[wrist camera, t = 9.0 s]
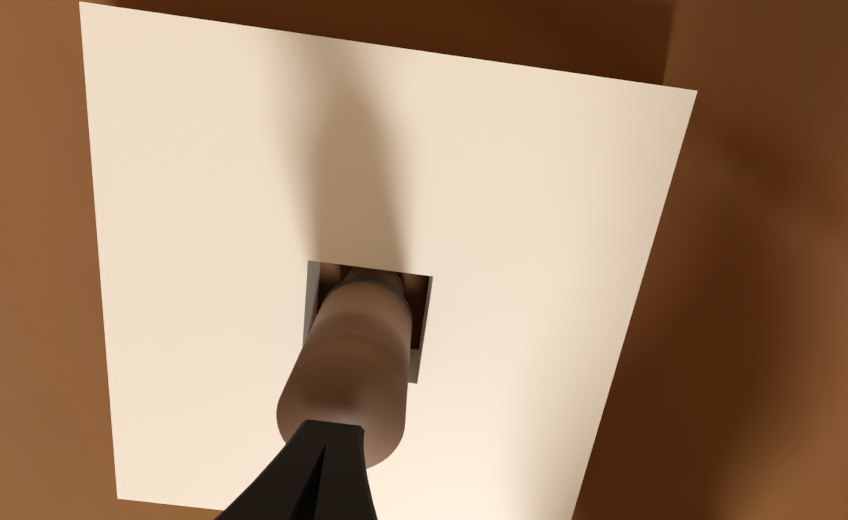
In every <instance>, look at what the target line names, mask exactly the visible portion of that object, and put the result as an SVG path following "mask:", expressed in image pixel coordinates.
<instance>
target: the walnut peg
mask: <svg viewBox="0 0 848 520" xmlns="http://www.w3.org/2000/svg"><path fill="white" fill-rule="evenodd" d="M412 324H413V320H412V313H411V309H410V307H409V304H408V302H407V301H406V299H405V288H404V284H403V281H402V280H401V278H400V276H399V275H398V274H397V273H396V272H395V271H388V270H380V269H372V268H364V267H357V266H356V267H354V268H353V269H351V270H350V271H349V272H348V273H347V274H346V276H345V277H344V279H343V282H342V283H340V284H339V285H337V286H335V287H334V288H333V289H332V290H331V291H330V292H329V293H328V294H327V295H326V297H325V298H324V300H323V302H322V304H321V306H320V309H319V312H318V315H317V317H316V319H315V321H314V323H313V326H312V328H311V330H310V332H309V334H308V337H307V339H306V341H305V343H304V345H303V347H302V350H301V352H300V354H299V356H298V358H297V361H296V363H295V365H294V367H293V369H292V372H291V374H290V376H289V378H288V380H287V383H286V385H285V387H284V389H283V391H282V394H281V396H280V398H279V401H278V404H277V411H276V420H277V425H278V429H279V432H280V434H281V436H282V438H283V440H284V442H285V443H287V442H288V441H289V439H290V438H291V437H292V435H293V434H294V433H295V431H296V430H297V429H298V427H299V426H300V424H301V423H302V422H304V421H305V420H307V419H309V420H317V421H326V422H334V423H343V424H351V425H360V426H361V427H362V428H363V429H364V430H365V433H364V457H365V464H366V469H368V468H370V467H373V466H375V465H377V464H379V463H381V462H382V461H384V460H385V459H387V458H388V457H389V456H390V455H391V454H392V453H393V452H394V451H395V449H396V448H397V447H398V445H399V443H400V442H401V439H402V437H403V434H404V430H405V419H406V404H407V389H408V374H409V360H410V345H411V333H412Z"/></svg>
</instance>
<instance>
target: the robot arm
mask: <svg viewBox="0 0 848 520" xmlns="http://www.w3.org/2000/svg"><path fill="white" fill-rule="evenodd" d="M364 433H365V430H364V429H363V428H362V427H361V426H360V425H351V424H343V423H334V422H326V421H317V420H309V419H307V420H305V421H304V422H302V423H301V424H300V426H299V427H298V429H297V430H296V431H295V433H294V434H293V435H292V437H291V438H290V439H289V441H288V442H287V443H286V444H285V446H284V447H283V448H282V449H281V451H280V452H279V453H278V454H277V455H276V457H275V458H274V459H273V460H272V461H271V462H270V463H269V464H268V466H267V467H266V468H265V469H264V470H263V471H262V472H261V473H260V474H259V476H258V477H257V478H256V479H255V480H254V481H253V482H252V483H251V484H250V485H249V486H248V487H247V488H246V489H245V490H244V491H243V492H242V493H241V494H240V495H239V496H238V497H237V498H236V499H235V500H234V501H233V502H232V503H231V504H230V505H229V506H228V507H227V508H226V509H225V510H224V511H223V512H222V513H221V514H220V515H219V516H217V517H216V518H215V519H214V520H378V518H377V515H376V511H375V508H374V504H373V500H372V495H371V491H370V486H369V482H368V477H367V471H366V464H365V457H364Z"/></svg>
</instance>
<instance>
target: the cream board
mask: <svg viewBox="0 0 848 520" xmlns="http://www.w3.org/2000/svg"><path fill="white" fill-rule="evenodd" d="M79 5H80V18H81V31H82V44H83V57H84V70H85V83H86V96H87V109H88V122H89V135H90V148H91V161H92V174H93V187H94V200H95V213H96V226H97V239H98V252H99V264H100V277H101V290H102V303H103V316H104V329H105V342H106V355H107V368H108V381H109V394H110V407H111V420H112V433H113V446H114V459H115V472H116V485H117V498H118V499H127V500H136V501H144V502H153V503H162V504H171V505H180V506H189V507H198V508H207V509H216V510H225V509H226V508H227V507H228V506H229V505H230V504H231V503H232V502H233V501H234V500H235V499H236V498H237V497H238V496H239V495H240V494H241V493H242V492H243V491H244V490H245V489H246V488H247V487H248V486H249V485H250V484H251V483H252V482H253V481H254V480H255V479H256V478H257V477H258V476H259V474H260V473H261V472H262V471H263V470H264V469H265V468H266V467H267V466H268V464H269V463H270V462H271V461H272V460H273V459H274V458H275V457H276V455H277V454H278V453H279V452H280V451H281V449H282V448H283V447H284V446H285V444H286V443H285V442H284V440H283V438H282V436H281V434H280V432H279V429H278V425H277V420H276V411H277V404H278V401H279V398H280V396H281V394H282V391H283V389H284V387H285V385H286V383H287V380H288V378H289V376H290V374H291V372H292V369H293V367H294V365H295V363H296V361H297V358H298V356H299V354H300V352H301V350H302V347H303V345H304V343H305V341H306V339H307V337H308V334H309V332H310V330H311V328H312V326H313V323H314V321H315V319H316V317H317V304H318V290H319V277H320V263H321V262H326V263H333V264H341V265H349V266H357V267H364V268H372V269H380V270H388V271H395V272H403V273H411V274H418V275H426V276H429V283H428V290H427V296H426V303H425V310H424V317H423V323H422V330H421V337H420V344H419V349H411V348H410V360H409V374H408V389H407V404H406V419H405V430H404V434H403V437H402V439H401V442H400V443H399V445H398V447H397V448H396V449H395V451H394V452H393V453H392V454H391V455H390V456H389V457H388V458H387V459H385V460H384V461H382V462H381V463H379V464H377V465H375V466H373V467H370V468H368V469H366V471H367V477H368V482H369V486H370V491H371V495H372V500H373V504H374V508H375V511H376V515H377V518H378V520H571V519H572V515H573V512H574V508H575V505H576V502H577V498H578V495H579V491H580V488H581V485H582V481H583V478H584V474H585V471H586V468H587V464H588V461H589V457H590V454H591V451H592V447H593V444H594V441H595V437H596V434H597V430H598V427H599V424H600V420H601V417H602V413H603V410H604V407H605V403H606V400H607V396H608V393H609V390H610V386H611V383H612V380H613V376H614V373H615V369H616V366H617V363H618V359H619V356H620V352H621V349H622V346H623V342H624V339H625V335H626V332H627V329H628V325H629V322H630V318H631V315H632V312H633V308H634V305H635V302H636V298H637V295H638V291H639V288H640V285H641V281H642V278H643V274H644V271H645V268H646V264H647V261H648V257H649V254H650V251H651V247H652V244H653V240H654V237H655V234H656V230H657V227H658V224H659V220H660V217H661V213H662V210H663V207H664V203H665V200H666V196H667V193H668V190H669V186H670V183H671V179H672V176H673V173H674V169H675V166H676V162H677V159H678V156H679V152H680V149H681V146H682V142H683V139H684V135H685V132H686V129H687V125H688V122H689V118H690V115H691V112H692V108H693V105H694V101H695V98H696V95H697V91H695V90H689V89H682V88H675V87H668V86H661V85H654V84H647V83H640V82H633V81H626V80H619V79H612V78H605V77H598V76H592V75H585V74H578V73H571V72H564V71H557V70H550V69H543V68H536V67H529V66H522V65H515V64H508V63H502V62H495V61H488V60H481V59H474V58H467V57H460V56H453V55H446V54H439V53H432V52H425V51H418V50H411V49H405V48H398V47H391V46H384V45H377V44H370V43H363V42H356V41H349V40H342V39H335V38H328V37H321V36H315V35H308V34H301V33H294V32H287V31H280V30H273V29H266V28H259V27H252V26H245V25H238V24H231V23H224V22H218V21H211V20H204V19H197V18H190V17H183V16H176V15H169V14H162V13H155V12H148V11H141V10H134V9H127V8H121V7H114V6H107V5H100V4H93V3H86V2H79Z"/></svg>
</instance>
